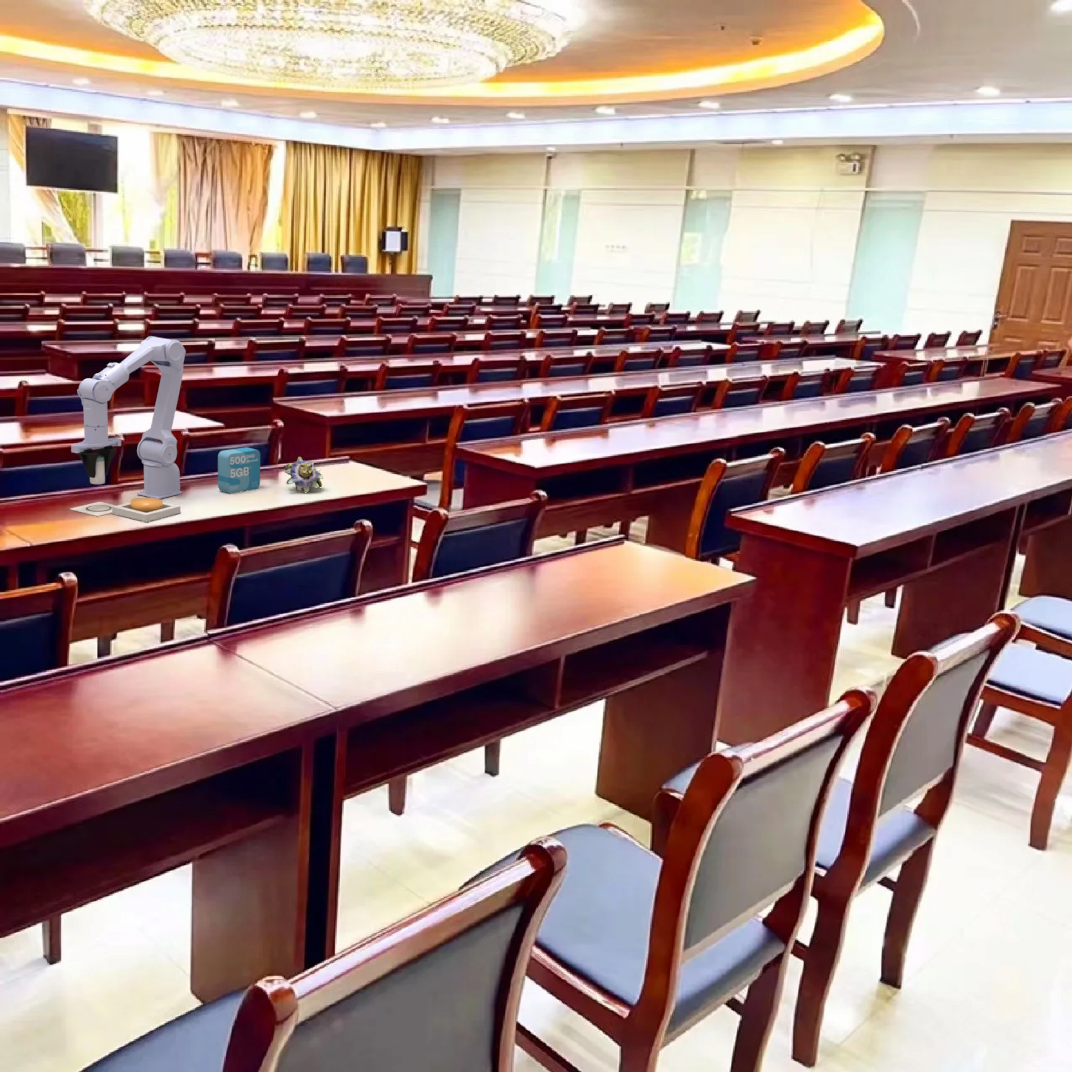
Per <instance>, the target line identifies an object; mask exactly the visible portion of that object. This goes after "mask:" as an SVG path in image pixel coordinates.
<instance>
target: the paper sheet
mask: <svg viewBox="0 0 1072 1072" xmlns="http://www.w3.org/2000/svg"><path fill="white" fill-rule="evenodd" d="M113 506H117V505H115V504H111V503H106V502H103V501H97V502H93V503H88V504H84V505H80V506H76V507H75V506H74V507H71V508H69V510H70V511H74V512H78V513H83V514H85V515H90V516H95V517H100V516H105V515H109V514H112V507H113Z"/></svg>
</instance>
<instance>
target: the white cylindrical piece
mask: <svg viewBox="0 0 1072 1072" xmlns="http://www.w3.org/2000/svg"><path fill="white" fill-rule="evenodd" d="M89 483H90V484H93V485H102V484H105V483H106V475H105V469H104V456H101V455H98V457H97V461H96V475H95V478H91V477H89Z"/></svg>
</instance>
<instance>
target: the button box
mask: <svg viewBox="0 0 1072 1072" xmlns="http://www.w3.org/2000/svg"><path fill="white" fill-rule="evenodd" d="M111 514H112V515H114V516H119V517H124V518H127V519H131V520H135V521H139V522H142V521H143V522H144V523H146V522H147V523H149V521H150V522H153V521H157V520H161V518H162V519H165V518H169V517H173V516H176V515H179V514H181V505H176V504H172V503H168V502H165V501H163V508H162V509H159V510H155V511H137V510H133V509H131V507H130V502H126V503H121V504H118V505H116V506H113V507H112V513H111ZM168 516H169V517H168Z"/></svg>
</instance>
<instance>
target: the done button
mask: <svg viewBox="0 0 1072 1072" xmlns="http://www.w3.org/2000/svg"><path fill="white" fill-rule="evenodd" d="M163 502H164V501H163V500H162V498H161V499H157V498H151V497H138V498H133V499H131V500H130V501H129V503H130V507H131V509H133V510H137V511H155V510H159V509H162V508H163Z"/></svg>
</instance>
